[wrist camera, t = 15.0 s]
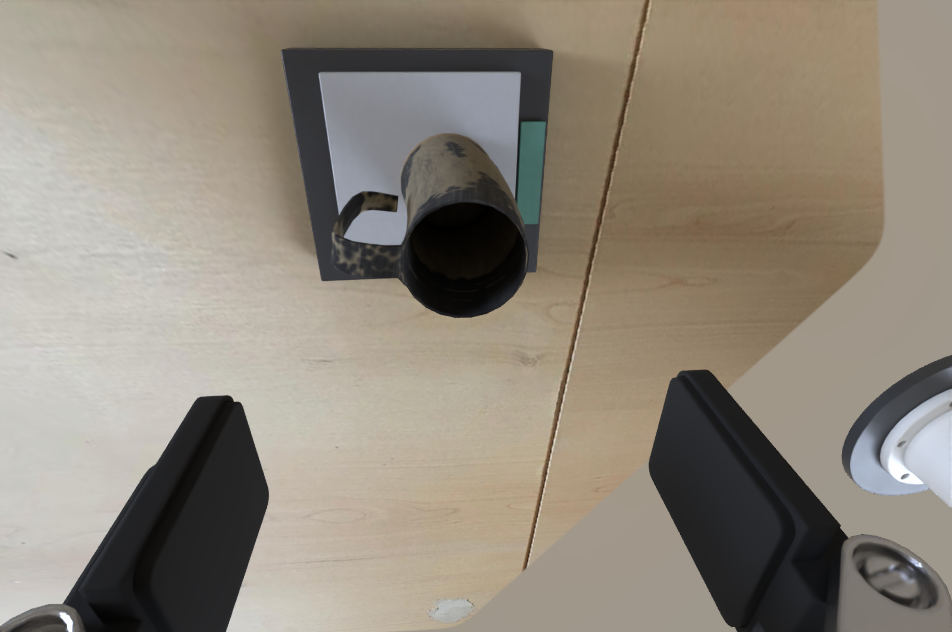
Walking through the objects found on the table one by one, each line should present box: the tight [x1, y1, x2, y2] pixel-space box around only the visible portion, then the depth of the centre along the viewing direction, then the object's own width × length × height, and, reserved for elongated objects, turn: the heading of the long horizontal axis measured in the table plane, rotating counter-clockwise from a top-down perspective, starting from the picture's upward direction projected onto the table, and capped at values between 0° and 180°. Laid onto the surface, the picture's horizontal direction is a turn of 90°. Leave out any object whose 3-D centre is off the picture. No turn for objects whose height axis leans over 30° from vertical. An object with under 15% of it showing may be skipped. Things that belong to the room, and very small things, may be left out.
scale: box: [281, 48, 553, 281], centre depth 29 cm, size 14×13×3 cm
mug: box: [330, 133, 529, 318], centre depth 23 cm, size 8×6×12 cm
